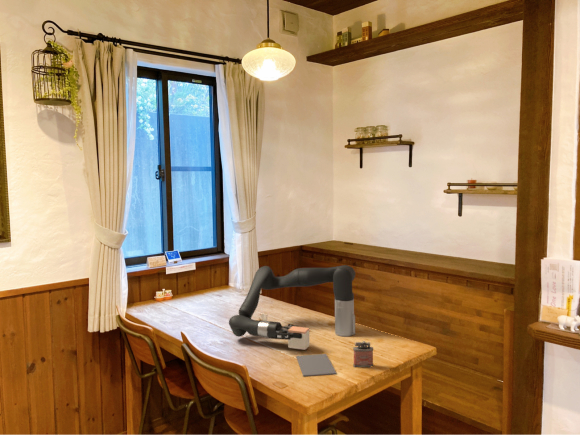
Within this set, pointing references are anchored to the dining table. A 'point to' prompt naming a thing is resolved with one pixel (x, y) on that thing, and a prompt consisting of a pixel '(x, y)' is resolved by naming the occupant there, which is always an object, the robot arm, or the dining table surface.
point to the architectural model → (263, 317)
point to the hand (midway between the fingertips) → (304, 333)
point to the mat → (315, 365)
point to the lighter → (363, 354)
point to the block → (297, 342)
